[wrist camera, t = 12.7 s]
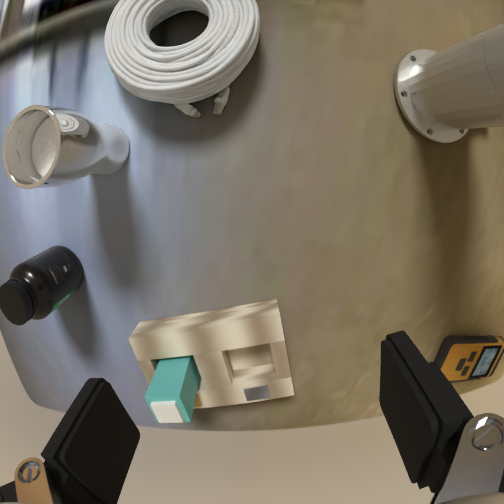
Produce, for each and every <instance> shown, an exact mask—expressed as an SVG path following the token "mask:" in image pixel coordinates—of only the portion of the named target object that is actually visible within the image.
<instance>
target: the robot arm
mask: <svg viewBox="0 0 504 504" xmlns="http://www.w3.org/2000/svg"><path fill="white" fill-rule="evenodd" d="M394 90H395V95H396V99H397V102H398V105H399V107H400V109H401V111H402V113H403V115H404V117H405V118H406V120H407V121H408V123H409V124H410V125H411V126H412V127H413V128H414V129H415V130H416V131H417V132H418V133H419V134H421V135H422V136H423V137H425V138H427V139H429V140H431V141H434V142H438V143H450V142H454V141H457V140H459V139H460V138H462V137H463V136H464V135H465V134H466V133H467V131H468V129H472V128H487V127H504V23H503V24H501V25H498V26H496V27H493V28H491V29H489V30H486V31H484V32H482V33H479V34H477V35H475V36H473V37H470V38H468V39H466V40H464V41H462V42H459V43H457V44H455V45H453V46H451V47H449V48H447V49H445V50H442V51H440V52H435V51H432V50H427V49H423V50H416V51H413V52H411V53H409V54H407V55H406V56H405V57H404V58H402V60H401V61H400V63H399V64H398V66H397V69H396V71H395V77H394ZM401 94H402V95H401ZM379 400H380V406H381V409H382V411H383V413H384V416H385V418H386V421H387V423H388V425H389V428H390V430H391V433H392V435H393V438H394V440H395V442H396V445H397V447H398V450H399V452H400V455H401V457H402V460H403V462H404V465H405V468H406V470H407V473H408V476H409V478H410V480H411V482H412V483H416V482H417V484H418V486H419V489H422V488H424V487H427V486H429V488H430V490H431V492H433V493H434V495H433V497H432V499H431V501H430V504H504V418H502V417H501V416H499V415H496V414H492V413H484V414H480V415H477V416H475V417H474V416H473V415H472V413H471V412H470V410H469V409H468V408H467V406H466V405H465V403H464V402H463V400H462V399H461V397H460V396H459V394H458V393H457V392H456V390H455V389H454V387H453V386H452V385H451V383H450V382H449V380H448V379H447V378H446V376H445V375H444V373H443V372H442V371H441V369H440V368H439V367H438V365H437V364H436V363H434V362H430V363H428V362H427V361H426V360H425V358H424V357H423V355H422V354H421V353H420V351H419V350H418V349H417V347H416V346H415V344H414V343H413V342H412V340H411V339H410V338H409V336H408V335H407V334H406V332H405V331H403V330H402V331H399V332H395V333H392V334H388V335H387V336H386V340H383V341H382V342H381V373H380V397H379ZM139 439H140V433H139V430H138V429H137V427H136V425H135V424H134V422H133V421H132V419H131V418H130V416H129V414H128V413H127V411H126V410H125V408H124V406H123V405H122V403H121V401H120V400H119V398H118V396H117V395H116V393H115V391H114V390H113V388H112V386H111V384H110V383H109V382H107V381H106V380H105V379H104V378H90V379H88V380H87V381H86V383H85V385H84V386H83V388H82V389H81V391H80V392H79V394H78V395H77V397H76V398H75V400H74V401H73V403H72V404H71V406H70V408H69V409H68V411H67V412H66V414H65V415H64V417H63V419H62V420H61V422H60V423H59V425H58V427H57V428H56V430H55V432H54V433H53V435H52V437H51V438H50V440H49V442H48V443H47V445H46V447H45V448H44V450H43V452H42V453H41V456H42V457H43V458H44V459H45V462H44V463H43V462H42V461H41V460H40V459H38V458H28V459H26V460H24V461H22V462H21V463H20V464H19V465H18V467H17V468H16V471H15V481H13V482H10V483H8V484H6V485H3V486H1V487H0V504H117V502H118V499H119V496H120V493H121V490H122V487H123V484H124V481H125V478H126V475H127V473H128V470H129V467H130V464H131V461H132V459H133V456H134V453H135V450H136V448H137V445H138V442H139Z"/></svg>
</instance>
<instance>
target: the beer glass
mask: <svg viewBox="0 0 504 504" xmlns="http://www.w3.org/2000/svg"><path fill="white" fill-rule="evenodd" d="M128 154H129V140H128V137H127V135H126V133H125V132H124V131H123V130H122V129H121V128H120V127H118V126H116V125H113V124H105V125H99V124H98V123H96V122H95V121H93V120H92V119H90V118H89V117H87V116H85V115H84V114H82V113H80V112H77V111H74V110H71V109H67V108H61V107H52V106H42V105H33V106H30V107H27V108H25V109H24V110H22V111H21V112H20V113H19V114H18V115H17V116H16V117H15V118H14V119H13V121H12V122H11V124H10V126H9V128H8V130H7V132H6V135H5V139H4V144H3V163H4V167H5V170H6V173H7V175H8V177H9V178H10V180H11V181H12V182H13V183H14V184H15V185H17V186H18V187H20V188H24V189H32V188H47V187H56V186H62V185H66V184H70V183H72V182H75V181H77V180H80V179H82V178H84V177H86V176H88V175H90V174H92V173H97V174H101V175H108V174H112V173H114V172H116V171H117V170H119V169H120V168H121V167H122V166H123V164H124V163H125V161H126V159H127V157H128Z"/></svg>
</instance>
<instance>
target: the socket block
mask: <svg viewBox="0 0 504 504" xmlns="http://www.w3.org/2000/svg"><path fill="white" fill-rule="evenodd" d="M129 341H130V344H131V346H132V348H133V351H134V353H135V355H136V358H137V360H138V362H139V364H140V367H141V369H142V371H143V373H144V375H145V377H146V380H147V382H148V384H149V385H150V383H151V380H152V378H153V375H154V373H155V370H156V368H157V365H158V363H159V360H160V359H162V358H171V357H180V356H188V355H193V356H194V359H195V362H196V364H197V367H198V370H199V373H200V379H199V384H198V389H197V394H196V399H195V404H194V409H197V408H208V407H218V406H227V405H235V404H243V403H250V402H257V401H264V400H270V399H276V398H282V397H287V396H292V395H294V391H293V385H292V380H291V374H290V368H289V362H288V357H287V351H286V346H285V340H284V334H283V329H282V323H281V318H280V313H279V308H278V303H277V299H273V300H268V301H263V302H257V303H252V304H247V305H241V306H235V307H230V308H224V309H218V310H212V311H206V312H200V313H194V314H188V315H181V316H175V317H168V318H161V319H155V320H148V321H140V322H139V323H138V325H137V327H136V328H135V330H134V331H133V333H132V335H131V336H130V338H129Z"/></svg>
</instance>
